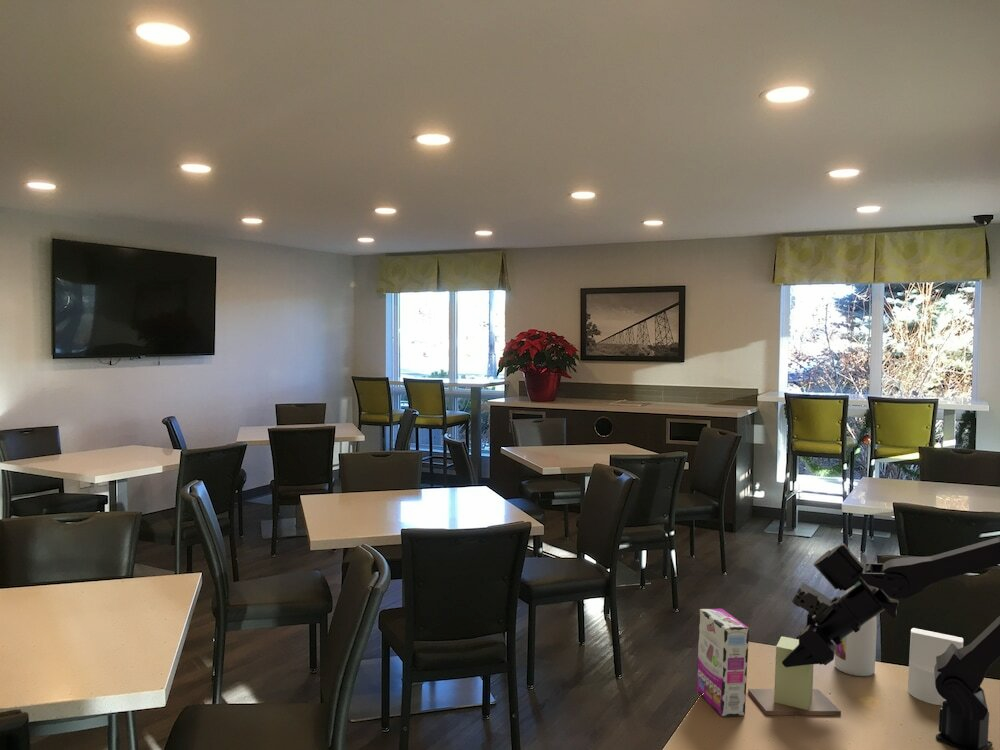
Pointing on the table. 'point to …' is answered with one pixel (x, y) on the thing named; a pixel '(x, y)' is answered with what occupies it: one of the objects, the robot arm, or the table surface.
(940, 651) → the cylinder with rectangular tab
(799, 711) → the walnut stud board
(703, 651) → the candy bar box
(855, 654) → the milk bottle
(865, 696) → the table surface
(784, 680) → the pale green upright block
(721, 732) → the table surface
